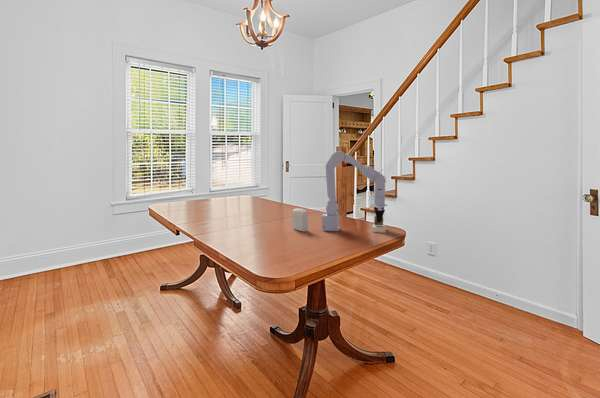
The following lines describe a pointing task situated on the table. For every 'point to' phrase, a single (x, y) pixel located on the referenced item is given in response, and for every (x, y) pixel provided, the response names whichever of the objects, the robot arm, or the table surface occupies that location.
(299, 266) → the table surface
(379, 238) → the table surface
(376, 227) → the cream block
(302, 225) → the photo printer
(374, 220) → the walnut cube
